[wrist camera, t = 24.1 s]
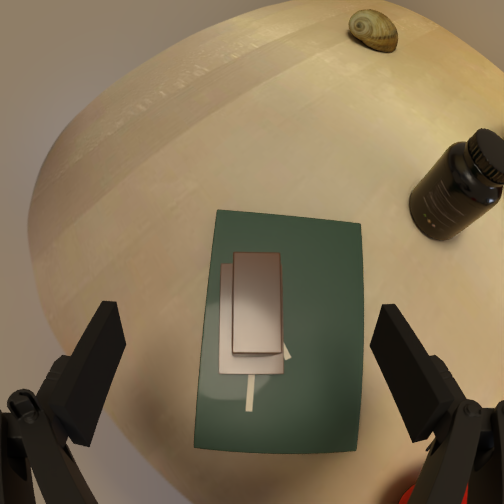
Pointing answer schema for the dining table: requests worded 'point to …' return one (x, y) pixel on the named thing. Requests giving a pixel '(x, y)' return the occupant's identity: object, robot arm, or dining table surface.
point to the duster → (251, 314)
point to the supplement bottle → (460, 186)
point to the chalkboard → (289, 341)
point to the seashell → (374, 30)
